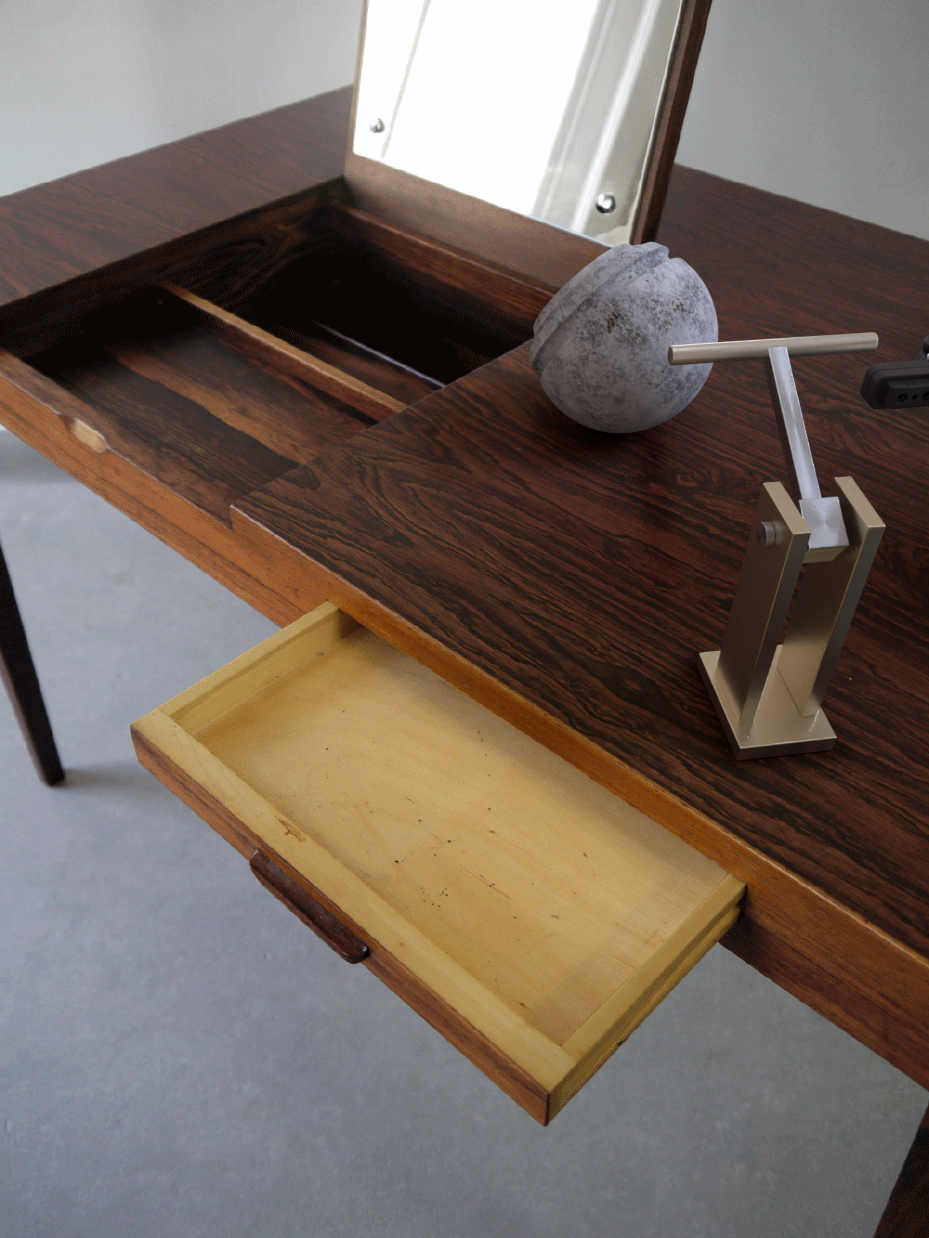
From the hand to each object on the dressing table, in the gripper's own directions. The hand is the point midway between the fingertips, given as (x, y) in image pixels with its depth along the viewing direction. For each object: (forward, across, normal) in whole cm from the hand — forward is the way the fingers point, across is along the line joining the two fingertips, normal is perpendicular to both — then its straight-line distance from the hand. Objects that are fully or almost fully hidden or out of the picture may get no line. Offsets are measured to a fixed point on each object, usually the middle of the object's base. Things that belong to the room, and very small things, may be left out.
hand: (868, 387), depth 62 cm
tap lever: (+7, +4, +1) cm, 8 cm away
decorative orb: (+8, -24, +17) cm, 30 cm away
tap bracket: (+7, +10, +16) cm, 20 cm away
